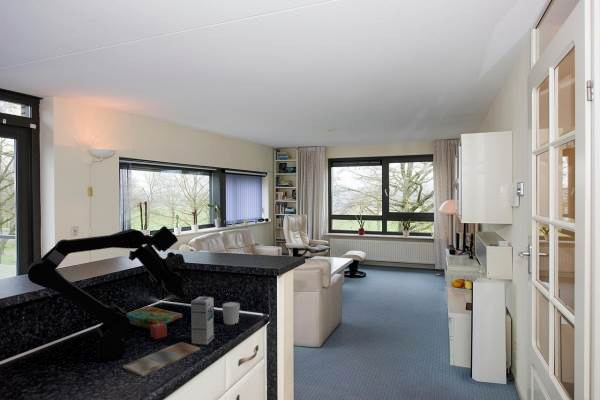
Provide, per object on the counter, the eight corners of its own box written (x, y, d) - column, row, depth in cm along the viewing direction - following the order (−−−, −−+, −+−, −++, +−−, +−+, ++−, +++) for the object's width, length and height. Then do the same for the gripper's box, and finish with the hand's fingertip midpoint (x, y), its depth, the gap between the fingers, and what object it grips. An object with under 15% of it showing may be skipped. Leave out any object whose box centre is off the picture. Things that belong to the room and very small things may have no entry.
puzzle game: (146, 304, 152) (182, 311, 142) (146, 315, 152) (182, 323, 142) (121, 312, 141) (157, 320, 132) (121, 324, 141) (157, 333, 132)
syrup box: (207, 344, 122) (207, 301, 121) (190, 343, 123) (190, 300, 122) (214, 338, 127) (214, 296, 127) (198, 337, 128) (198, 295, 128)
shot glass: (220, 320, 146) (220, 302, 146) (238, 318, 148) (238, 300, 148) (223, 325, 139) (223, 307, 139) (241, 323, 142) (241, 305, 142)
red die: (155, 339, 126) (155, 327, 126) (150, 336, 129) (150, 324, 129) (166, 336, 129) (166, 324, 129) (161, 333, 132) (161, 321, 132)
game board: (142, 376, 100) (142, 374, 100) (122, 367, 105) (122, 365, 105) (200, 349, 118) (200, 347, 118) (181, 343, 123) (181, 341, 123)
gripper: (182, 248, 116) (209, 284, 122) (163, 242, 131) (188, 274, 136) (152, 272, 110) (182, 308, 116) (136, 263, 125) (164, 295, 131)
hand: (180, 295), depth 125 cm, fingers open, 9 cm apart
